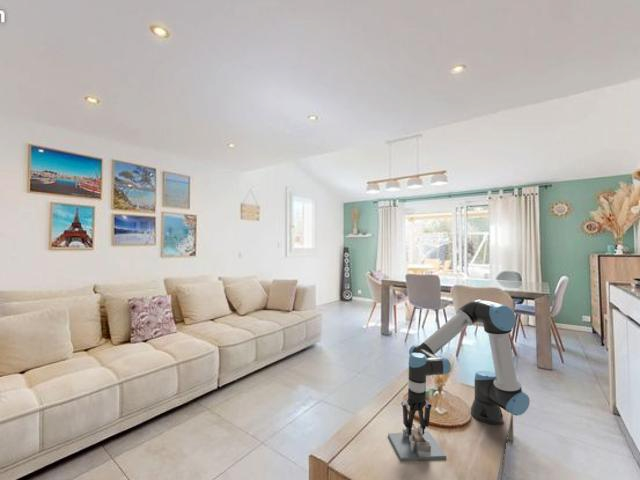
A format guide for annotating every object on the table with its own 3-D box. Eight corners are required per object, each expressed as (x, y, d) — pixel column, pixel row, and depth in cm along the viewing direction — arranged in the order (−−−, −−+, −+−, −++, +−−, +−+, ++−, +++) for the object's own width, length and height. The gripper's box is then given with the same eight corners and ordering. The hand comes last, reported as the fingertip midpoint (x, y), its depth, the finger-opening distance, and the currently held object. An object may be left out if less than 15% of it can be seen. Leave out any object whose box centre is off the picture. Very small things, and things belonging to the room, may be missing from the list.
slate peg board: (428, 434, 140) (428, 423, 140) (446, 458, 124) (446, 446, 124) (388, 435, 138) (388, 424, 138) (400, 460, 122) (401, 448, 122)
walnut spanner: (404, 433, 137) (404, 423, 137) (414, 433, 138) (415, 423, 138) (419, 457, 122) (419, 446, 122) (430, 456, 122) (430, 446, 122)
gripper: (430, 384, 136) (429, 435, 136) (396, 385, 135) (394, 436, 134) (438, 392, 129) (437, 446, 128) (402, 393, 127) (400, 448, 127)
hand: (415, 441), depth 131 cm, fingers closed on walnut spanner, 3 cm apart
